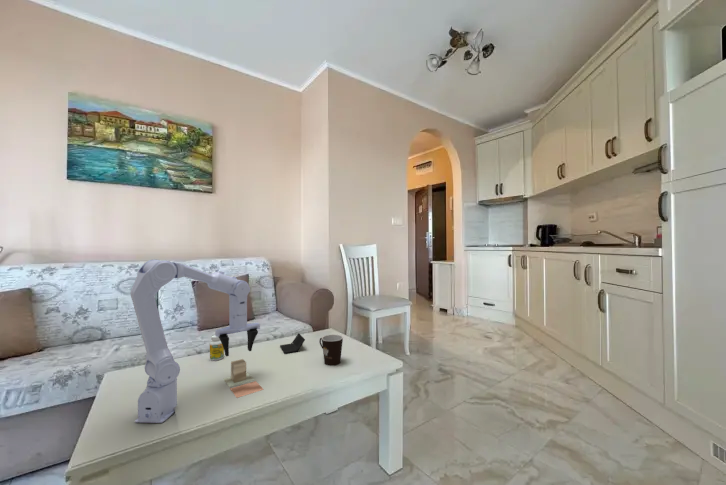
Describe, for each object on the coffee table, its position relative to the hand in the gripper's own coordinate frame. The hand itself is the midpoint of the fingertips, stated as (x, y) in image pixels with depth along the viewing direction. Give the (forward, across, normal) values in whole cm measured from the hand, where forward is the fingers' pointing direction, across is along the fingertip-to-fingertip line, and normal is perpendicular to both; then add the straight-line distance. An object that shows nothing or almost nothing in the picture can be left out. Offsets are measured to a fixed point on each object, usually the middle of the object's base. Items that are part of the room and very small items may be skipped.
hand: (238, 352), depth 105 cm
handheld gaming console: (+11, +29, +19) cm, 37 cm away
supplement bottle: (+11, -1, +29) cm, 31 cm away
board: (+10, 0, -4) cm, 11 cm away
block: (+9, 0, 0) cm, 9 cm away
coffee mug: (+11, +36, -4) cm, 37 cm away
